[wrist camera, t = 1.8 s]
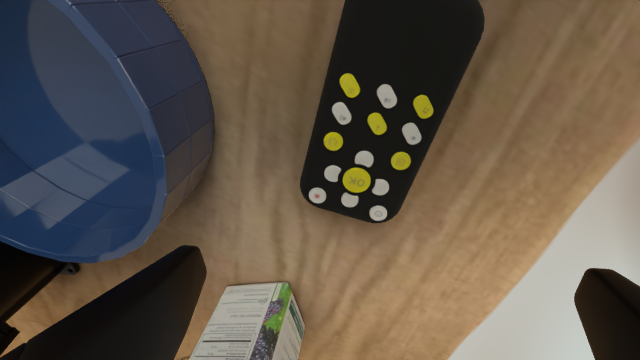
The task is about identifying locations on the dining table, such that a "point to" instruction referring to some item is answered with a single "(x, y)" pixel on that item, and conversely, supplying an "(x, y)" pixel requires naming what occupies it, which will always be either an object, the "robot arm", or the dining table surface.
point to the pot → (96, 125)
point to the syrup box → (253, 325)
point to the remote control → (385, 100)
